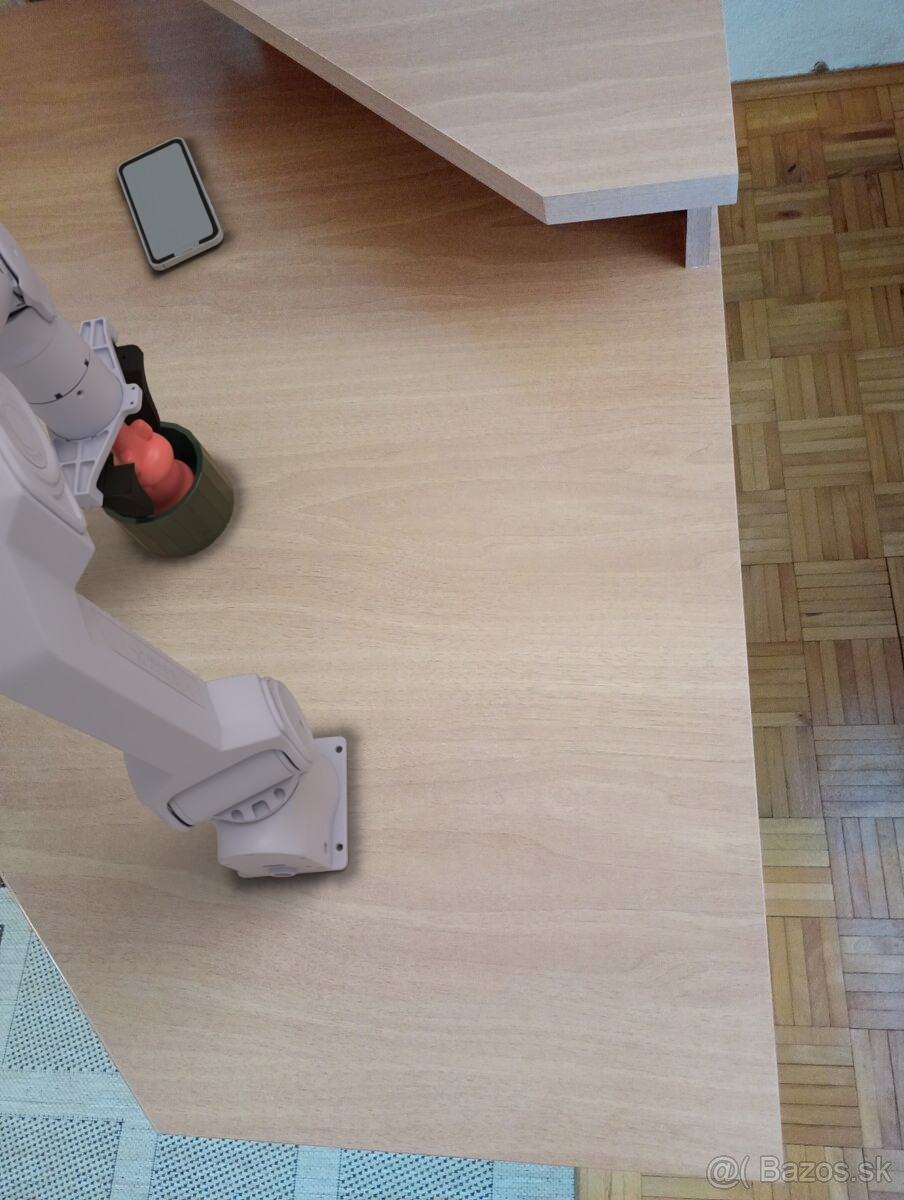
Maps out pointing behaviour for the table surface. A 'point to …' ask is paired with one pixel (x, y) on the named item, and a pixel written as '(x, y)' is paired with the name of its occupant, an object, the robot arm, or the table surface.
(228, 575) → the table surface
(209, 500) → the cup
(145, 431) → the figurine
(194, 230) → the smartphone
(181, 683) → the robot arm
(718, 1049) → the table surface
